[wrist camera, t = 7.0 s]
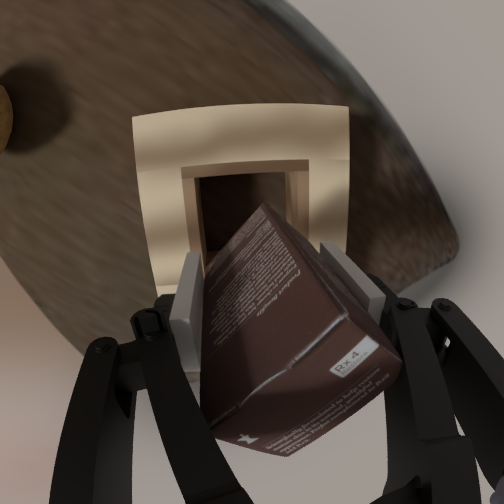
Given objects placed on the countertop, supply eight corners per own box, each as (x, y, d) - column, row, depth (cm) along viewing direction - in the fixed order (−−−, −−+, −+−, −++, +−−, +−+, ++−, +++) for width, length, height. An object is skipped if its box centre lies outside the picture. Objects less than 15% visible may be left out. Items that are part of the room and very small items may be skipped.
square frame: (147, 120, 24) (132, 117, 20) (328, 111, 26) (348, 106, 21) (172, 300, 32) (165, 326, 27) (324, 287, 33) (339, 309, 29)
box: (255, 305, 20) (286, 462, 9) (203, 268, 18) (185, 431, 7) (315, 242, 18) (417, 371, 7) (265, 197, 17) (339, 306, 6)
